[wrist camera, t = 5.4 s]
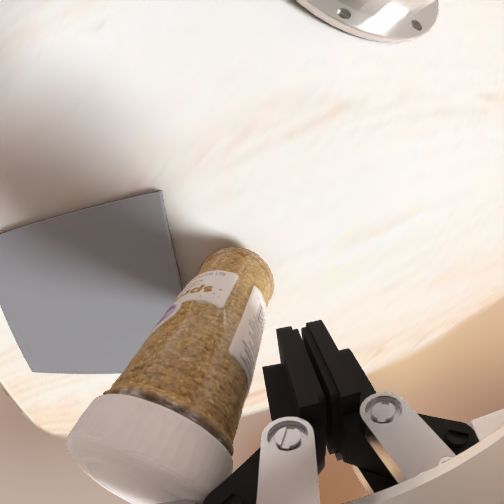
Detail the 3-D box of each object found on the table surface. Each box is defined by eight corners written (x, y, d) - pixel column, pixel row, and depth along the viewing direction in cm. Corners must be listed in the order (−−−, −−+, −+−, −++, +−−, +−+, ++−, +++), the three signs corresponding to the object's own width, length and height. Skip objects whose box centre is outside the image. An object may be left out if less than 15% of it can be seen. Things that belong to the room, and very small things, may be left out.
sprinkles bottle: (215, 232, 17) (51, 412, 4) (288, 266, 17) (247, 507, 4) (191, 294, 19) (68, 472, 6) (256, 325, 19) (194, 532, 6)
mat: (35, 368, 20) (32, 371, 19) (-16, 239, 16) (-21, 241, 15) (202, 362, 20) (202, 367, 19) (161, 190, 16) (159, 191, 16)
